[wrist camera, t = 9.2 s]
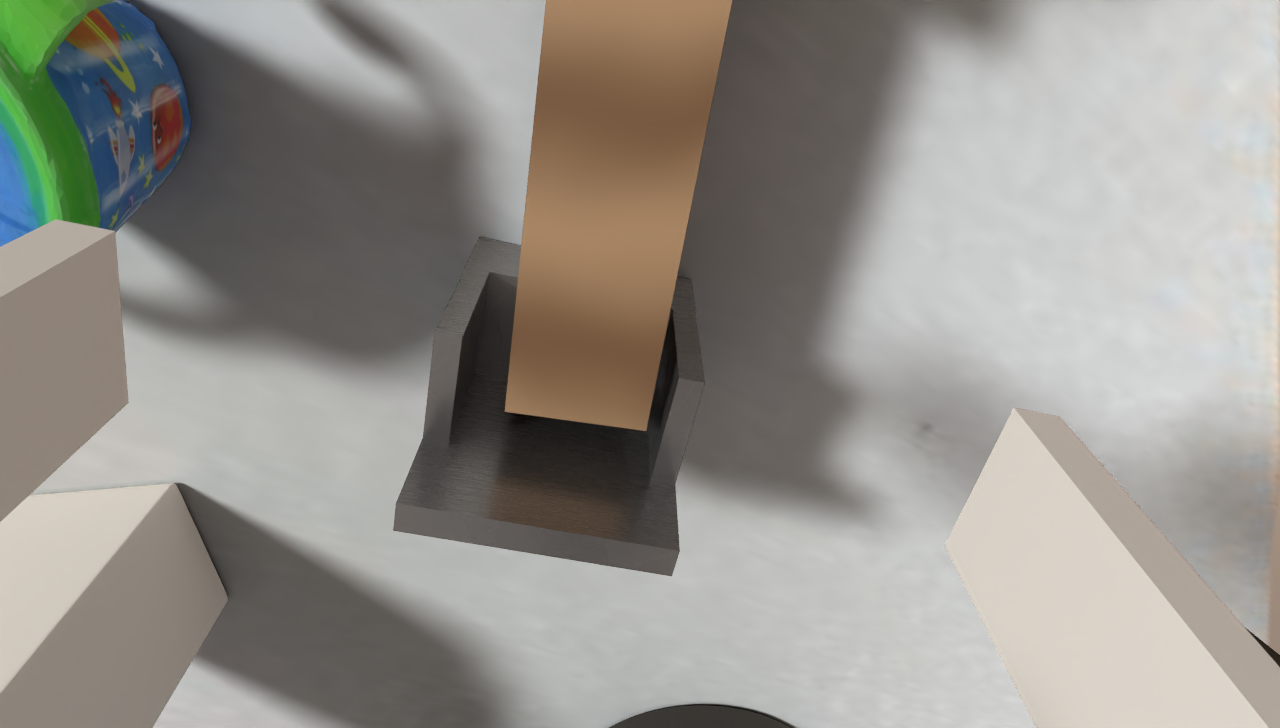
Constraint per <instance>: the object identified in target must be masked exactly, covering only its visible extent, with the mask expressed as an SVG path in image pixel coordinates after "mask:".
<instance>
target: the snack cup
mask: <svg viewBox="0 0 1280 728" xmlns="http://www.w3.org/2000/svg"><path fill="white" fill-rule="evenodd" d="M191 124H192V120H191V117H190V112H189V108H188V102H187V97H186V92H185V88H184V84H183V81H182V78H181V76H180V73H179V70H178V68H177V65H176V63H175V61H174V59H173V57H172V56H171V54H170V52H169V50H168V48H167V46H166V45H165V43H164V41H163V40H162V38H161V37H160V36H159V34H158V32H157V30H156V28H155V24H154V22H153V21H152V20H150V19H149V18H148V17H146V16H145V15H144V14H142V13H141V12H140V11H139V10H138V9H137V8H136V7H135V6H134V5H132V4H130V3H127V2H125V1H123V0H0V247H1V246H3V245H5V244H7V243H9V242H11V241H13V240H15V239H17V238H19V237H21V236H23V235H25V234H27V233H29V232H31V231H33V230H35V229H37V228H39V227H41V226H43V225H45V224H47V223H49V222H51V221H53V220H55V219H56V220H62V221H67V222H72V223H77V224H82V225H87V226H92V227H97V228H102V229H107V230H112V231H115V233H116V232H117V231H118V230H119V228H120V227H121V226H122V225H123V224H124V223H125V222H126V221H127V220H128V219H129V218H130V217H131V216H132V215H133V214H134V213H135V212H136V211H137V210H138V208H139V207H140V205H141V204H143V203H144V202H145V201H146V200H147V199H148V198H149V197H150V196H151V195H152V194H153V193H154V192H155V191H156V189H157V188H159V187H160V186H161V185H162V183H163V182H164V181H165V178H166V177H167V176H168V175H169V174H170V173H171V172H172V170H173V169H174V167H175V166H176V165H177V164H178V163H179V161H180V158H181V155H182V152H183V149H184V147H185V145H186V143H187V142H188V140H189V133H190V129H191Z"/></svg>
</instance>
